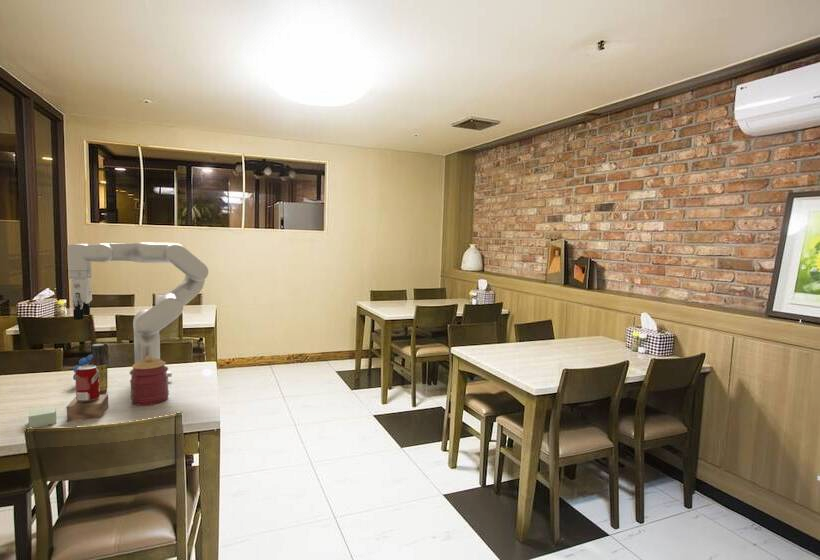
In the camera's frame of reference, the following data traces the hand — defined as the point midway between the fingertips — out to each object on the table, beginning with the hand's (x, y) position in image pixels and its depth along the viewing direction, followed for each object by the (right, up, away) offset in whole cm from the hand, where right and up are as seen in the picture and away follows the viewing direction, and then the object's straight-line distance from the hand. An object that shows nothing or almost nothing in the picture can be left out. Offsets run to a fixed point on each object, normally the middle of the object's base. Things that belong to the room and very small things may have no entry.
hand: (82, 317), depth 183 cm
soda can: (+17, -28, -21) cm, 39 cm away
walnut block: (+17, -33, -21) cm, 42 cm away
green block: (+7, -33, -29) cm, 45 cm away
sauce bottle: (+7, -31, 0) cm, 32 cm away
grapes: (-7, -29, +13) cm, 33 cm away
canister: (+30, -32, -5) cm, 44 cm away
